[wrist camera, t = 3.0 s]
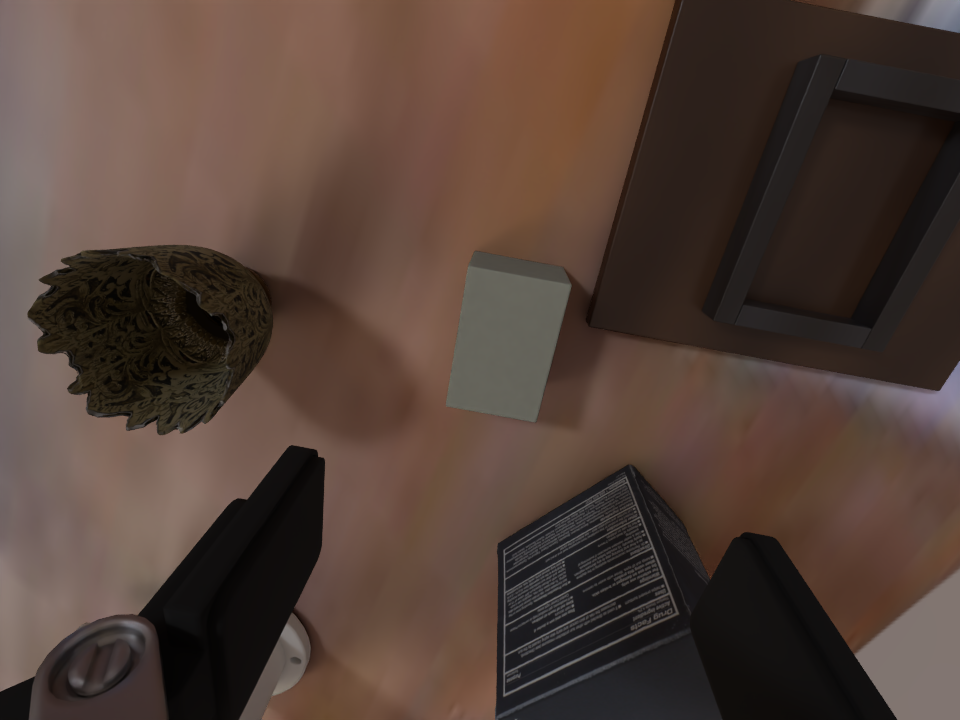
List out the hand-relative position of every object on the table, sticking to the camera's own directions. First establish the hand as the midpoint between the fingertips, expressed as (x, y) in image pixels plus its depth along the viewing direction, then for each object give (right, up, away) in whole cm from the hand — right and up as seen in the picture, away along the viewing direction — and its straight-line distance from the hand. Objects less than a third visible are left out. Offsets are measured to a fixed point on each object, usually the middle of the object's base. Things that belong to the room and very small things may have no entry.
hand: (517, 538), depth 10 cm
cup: (-13, +8, +14) cm, 21 cm away
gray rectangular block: (0, +6, +14) cm, 15 cm away
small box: (+6, -7, +19) cm, 21 cm away
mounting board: (+15, +11, +11) cm, 21 cm away
